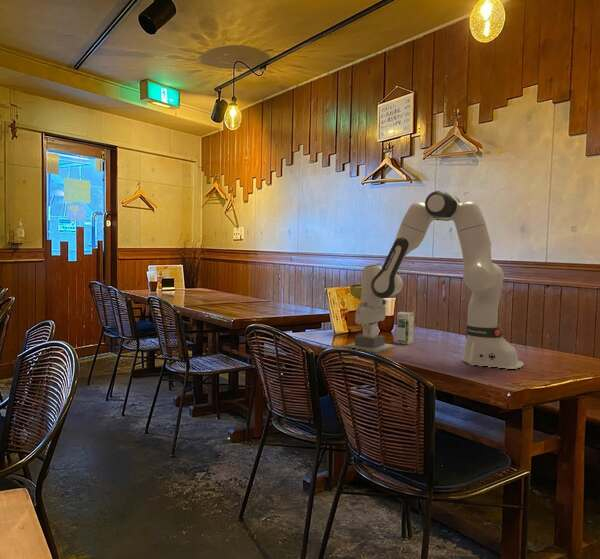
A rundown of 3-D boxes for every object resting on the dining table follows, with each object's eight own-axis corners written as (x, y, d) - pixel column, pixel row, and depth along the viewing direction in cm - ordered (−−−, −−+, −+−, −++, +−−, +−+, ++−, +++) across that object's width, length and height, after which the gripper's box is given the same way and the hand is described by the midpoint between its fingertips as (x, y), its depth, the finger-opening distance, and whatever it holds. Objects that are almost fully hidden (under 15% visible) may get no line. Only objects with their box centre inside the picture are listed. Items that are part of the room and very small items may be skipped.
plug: (376, 341, 220) (377, 321, 220) (371, 343, 217) (372, 322, 216) (368, 340, 223) (368, 320, 223) (362, 341, 220) (363, 321, 219)
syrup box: (396, 343, 231) (397, 312, 230) (402, 341, 236) (403, 311, 235) (406, 344, 227) (407, 313, 226) (413, 343, 232) (414, 312, 231)
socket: (394, 347, 222) (394, 336, 221) (376, 352, 209) (376, 340, 209) (363, 342, 232) (363, 331, 231) (344, 347, 219) (344, 336, 219)
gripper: (364, 304, 209) (363, 336, 210) (388, 300, 225) (387, 330, 226) (352, 302, 213) (351, 334, 214) (376, 299, 229) (375, 329, 230)
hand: (370, 332), depth 220 cm, fingers closed on plug, 4 cm apart
